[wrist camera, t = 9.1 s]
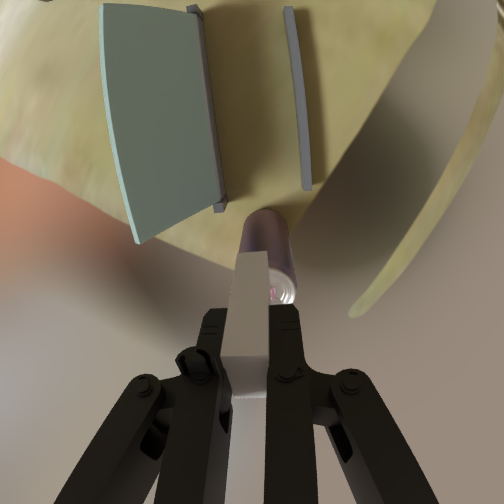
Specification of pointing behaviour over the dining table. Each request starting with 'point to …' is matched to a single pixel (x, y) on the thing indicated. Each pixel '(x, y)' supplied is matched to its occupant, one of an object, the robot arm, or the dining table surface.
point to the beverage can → (272, 251)
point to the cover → (157, 115)
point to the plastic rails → (298, 93)
